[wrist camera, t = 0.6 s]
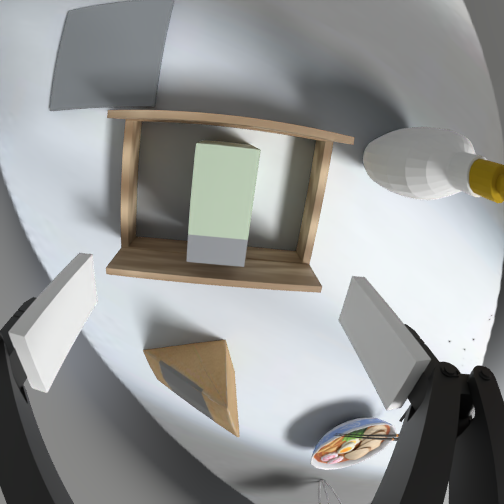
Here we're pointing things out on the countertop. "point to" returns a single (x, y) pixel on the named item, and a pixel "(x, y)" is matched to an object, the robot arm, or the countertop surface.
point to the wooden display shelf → (257, 259)
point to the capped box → (221, 202)
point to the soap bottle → (432, 165)
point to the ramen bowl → (352, 443)
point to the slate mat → (111, 55)
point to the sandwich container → (200, 378)
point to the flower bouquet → (326, 491)
